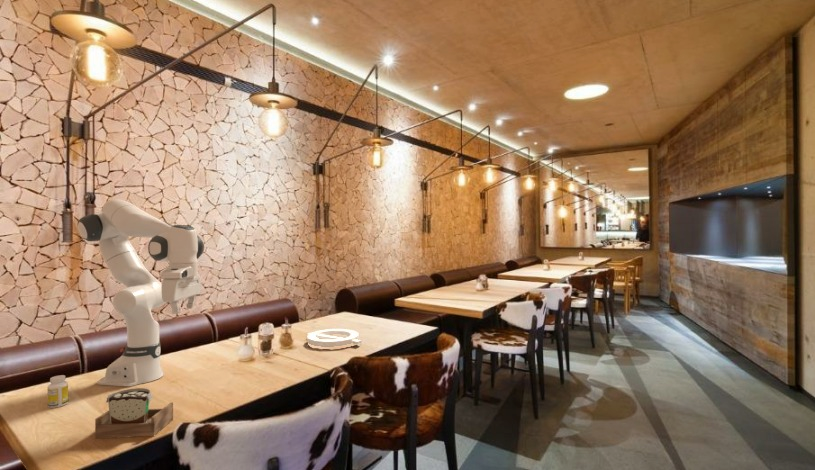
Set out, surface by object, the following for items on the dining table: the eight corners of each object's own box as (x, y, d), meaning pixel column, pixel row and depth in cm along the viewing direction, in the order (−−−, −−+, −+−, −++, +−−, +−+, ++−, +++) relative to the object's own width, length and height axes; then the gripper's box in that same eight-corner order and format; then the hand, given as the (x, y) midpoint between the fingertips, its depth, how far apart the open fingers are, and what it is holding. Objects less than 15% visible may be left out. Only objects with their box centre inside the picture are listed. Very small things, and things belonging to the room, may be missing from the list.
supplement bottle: (66, 400, 140) (66, 373, 140) (69, 404, 137) (69, 376, 137) (46, 405, 136) (46, 377, 136) (48, 409, 133) (49, 381, 133)
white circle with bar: (306, 338, 226) (306, 330, 226) (354, 335, 234) (354, 327, 234) (308, 352, 199) (308, 343, 200) (362, 348, 207) (362, 339, 207)
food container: (160, 418, 123) (160, 386, 123) (149, 428, 117) (149, 394, 117) (119, 419, 122) (119, 387, 122) (105, 429, 116) (106, 395, 116)
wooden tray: (154, 436, 115) (154, 417, 115) (95, 438, 114) (95, 418, 114) (173, 419, 125) (173, 402, 125) (119, 421, 124) (119, 403, 124)
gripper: (189, 268, 146) (188, 305, 146) (157, 274, 126) (157, 316, 126) (206, 268, 147) (206, 305, 147) (177, 273, 126) (177, 316, 126)
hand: (183, 310), depth 136 cm, fingers open, 8 cm apart
